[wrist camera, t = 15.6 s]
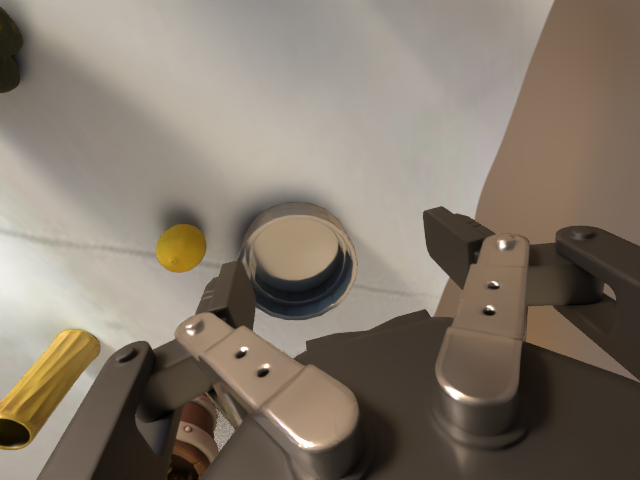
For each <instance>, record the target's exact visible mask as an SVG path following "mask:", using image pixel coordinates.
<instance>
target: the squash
mask: <svg viewBox="0 0 640 480" xmlns="http://www.w3.org/2000/svg"><path fill="white" fill-rule="evenodd" d="M22 46H23V38H22V36H21V34H20V32H19V30H18V27H17V26H16V24H15V23H14V21H13V20H12V18H11V17H10V16H9V15H8V14H7V13H6V11H5V10H3V9H2V8H1V7H0V93H5V92H9V91H11V90H13V89H14V88H16V87H17V86H18V85H19V83H20V74H19V70H18V67H17V64H16V63H15V61H14V60H13V58H12V57H11V55H13V54H15V53H17V52H18V51H19V50H20V49H21V48H22Z"/></svg>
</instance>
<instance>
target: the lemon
mask: <svg viewBox="0 0 640 480" xmlns="http://www.w3.org/2000/svg"><path fill="white" fill-rule="evenodd" d="M205 252H206V240H205V237H204V235H203V234H202V232H201V231H200V230H199V229H197V228H196V227H194V226H192V225H188V224H179V225H175V226H172V227H170V228H169V229H167V230H166V231H165V232H164V233H163V234H162V235H161V237H160V238H159V240H158V243H157V247H156V255H157V258H158V261H159V262H160V264H161V265H162V266H163V267H164V268H166V269H167V270H169V271H172V272H178V273H180V272H186V271H189V270H191V269H193V268H194V267H196V266H197V265H198V264H199V263H200V262H201V261H202V259H203V257H204V255H205Z"/></svg>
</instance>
